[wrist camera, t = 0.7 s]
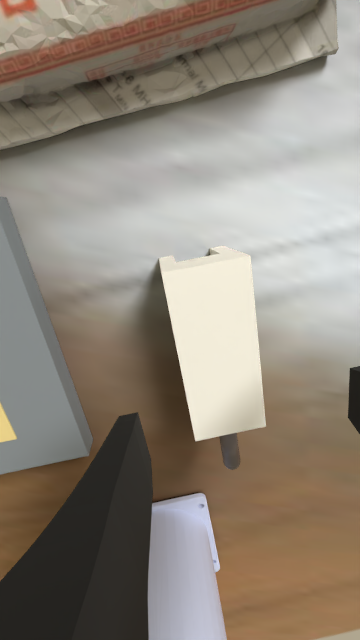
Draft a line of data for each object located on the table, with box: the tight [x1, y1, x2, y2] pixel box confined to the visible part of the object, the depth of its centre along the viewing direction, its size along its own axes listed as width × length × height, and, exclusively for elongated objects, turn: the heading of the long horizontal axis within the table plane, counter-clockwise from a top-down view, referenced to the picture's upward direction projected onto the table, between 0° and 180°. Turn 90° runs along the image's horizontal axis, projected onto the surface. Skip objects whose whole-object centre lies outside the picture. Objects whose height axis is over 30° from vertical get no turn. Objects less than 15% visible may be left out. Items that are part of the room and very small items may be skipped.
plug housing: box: [159, 246, 266, 470], centre depth 16 cm, size 12×4×5 cm, turn 10°
